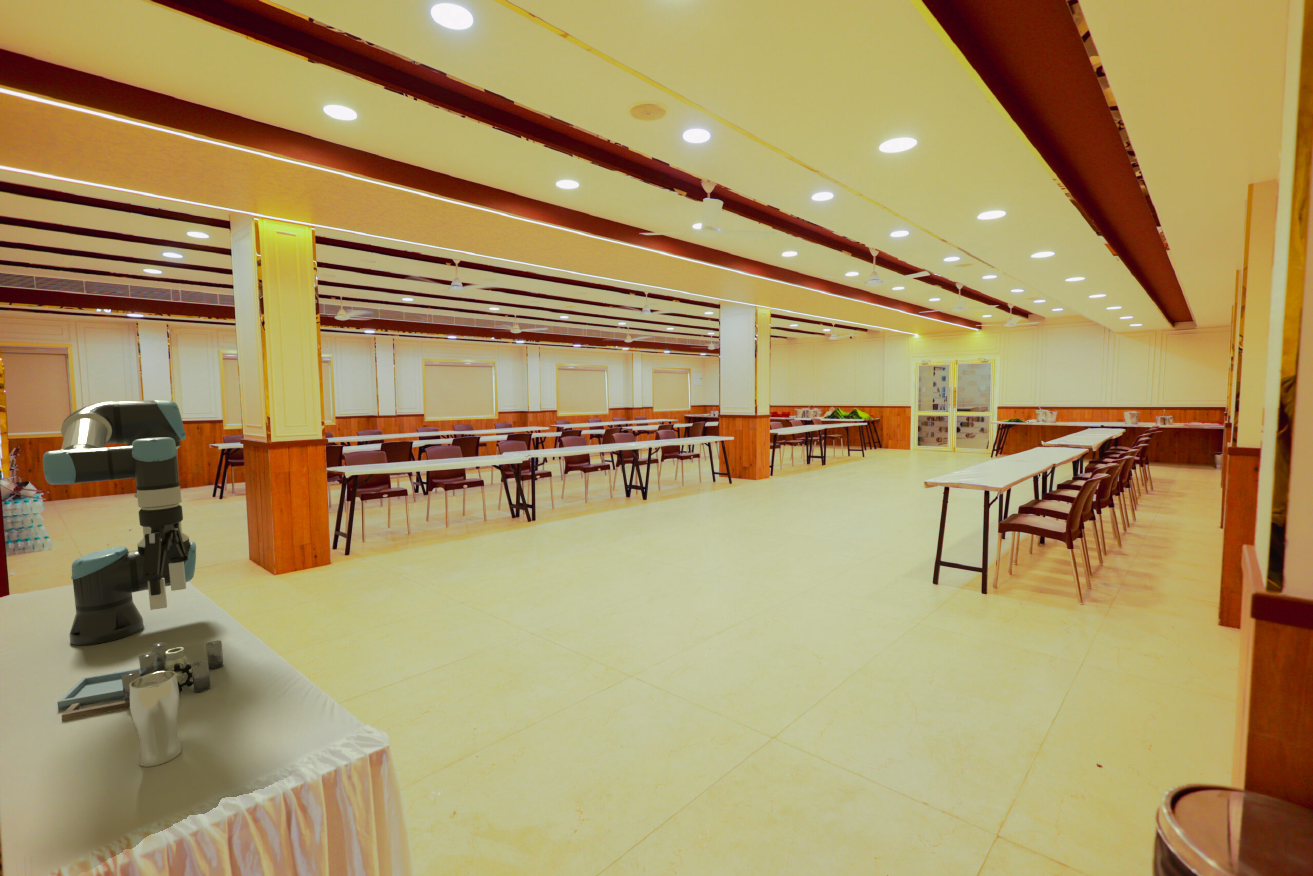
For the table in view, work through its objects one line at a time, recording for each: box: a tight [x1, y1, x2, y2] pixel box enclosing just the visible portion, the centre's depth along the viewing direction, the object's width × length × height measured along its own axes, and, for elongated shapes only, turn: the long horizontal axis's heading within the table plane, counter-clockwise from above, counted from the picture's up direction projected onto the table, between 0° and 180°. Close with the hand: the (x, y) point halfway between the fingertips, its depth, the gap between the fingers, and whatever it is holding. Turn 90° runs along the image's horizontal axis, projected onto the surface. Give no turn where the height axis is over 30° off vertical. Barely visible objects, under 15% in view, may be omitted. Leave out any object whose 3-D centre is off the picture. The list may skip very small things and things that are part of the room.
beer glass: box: [129, 670, 183, 768], centre depth 109 cm, size 7×7×15 cm
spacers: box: [122, 639, 224, 701], centre depth 139 cm, size 20×16×6 cm
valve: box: [163, 646, 193, 694], centre depth 137 cm, size 7×7×12 cm
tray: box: [57, 667, 141, 711], centre depth 134 cm, size 12×12×2 cm
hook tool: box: [61, 700, 130, 721], centre depth 128 cm, size 5×14×1 cm, turn 114°
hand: (169, 598), depth 135 cm, fingers open, 13 cm apart
